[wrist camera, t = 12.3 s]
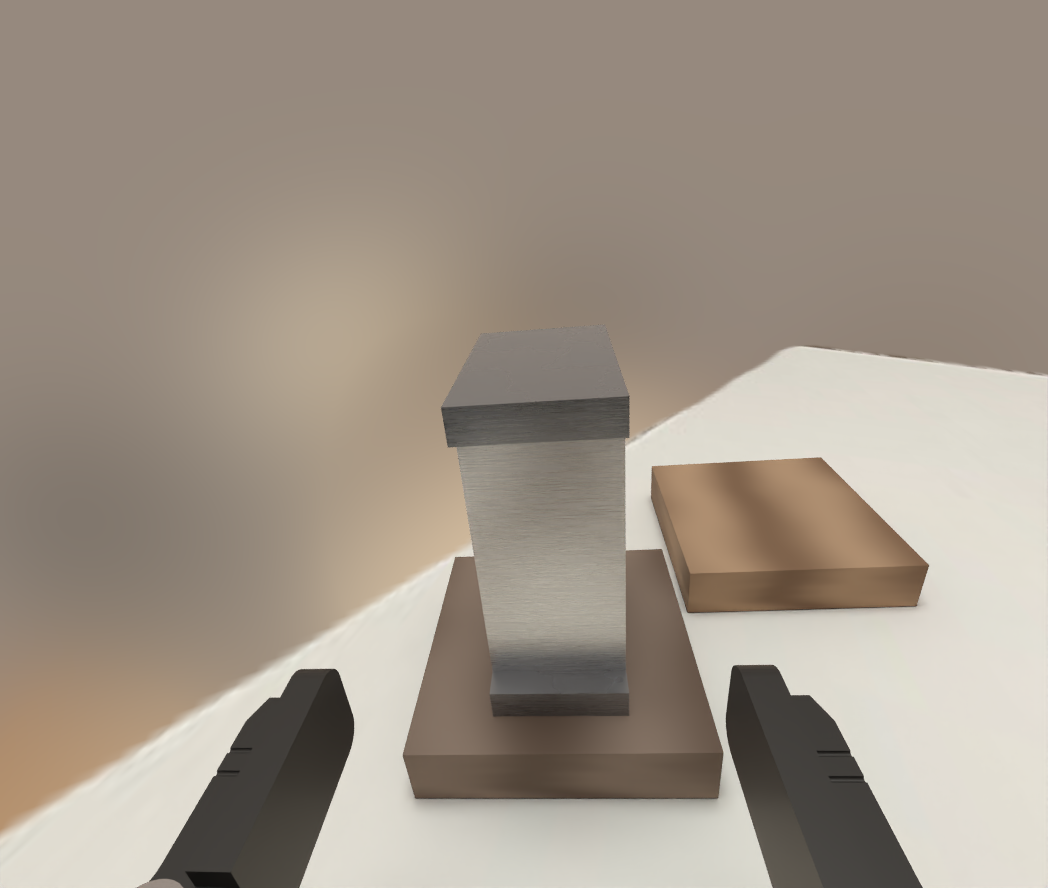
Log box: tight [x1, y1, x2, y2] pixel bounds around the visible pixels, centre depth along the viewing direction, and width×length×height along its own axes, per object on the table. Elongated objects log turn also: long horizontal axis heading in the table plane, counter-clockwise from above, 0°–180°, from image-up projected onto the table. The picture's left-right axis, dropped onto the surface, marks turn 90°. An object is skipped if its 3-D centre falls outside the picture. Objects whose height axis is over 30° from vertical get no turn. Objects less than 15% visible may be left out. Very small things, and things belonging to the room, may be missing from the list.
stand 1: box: [403, 549, 723, 798], centre depth 23 cm, size 11×11×2 cm
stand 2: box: [651, 458, 929, 613], centre depth 30 cm, size 11×11×2 cm
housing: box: [441, 325, 629, 716], centre depth 20 cm, size 5×8×12 cm, turn 177°
